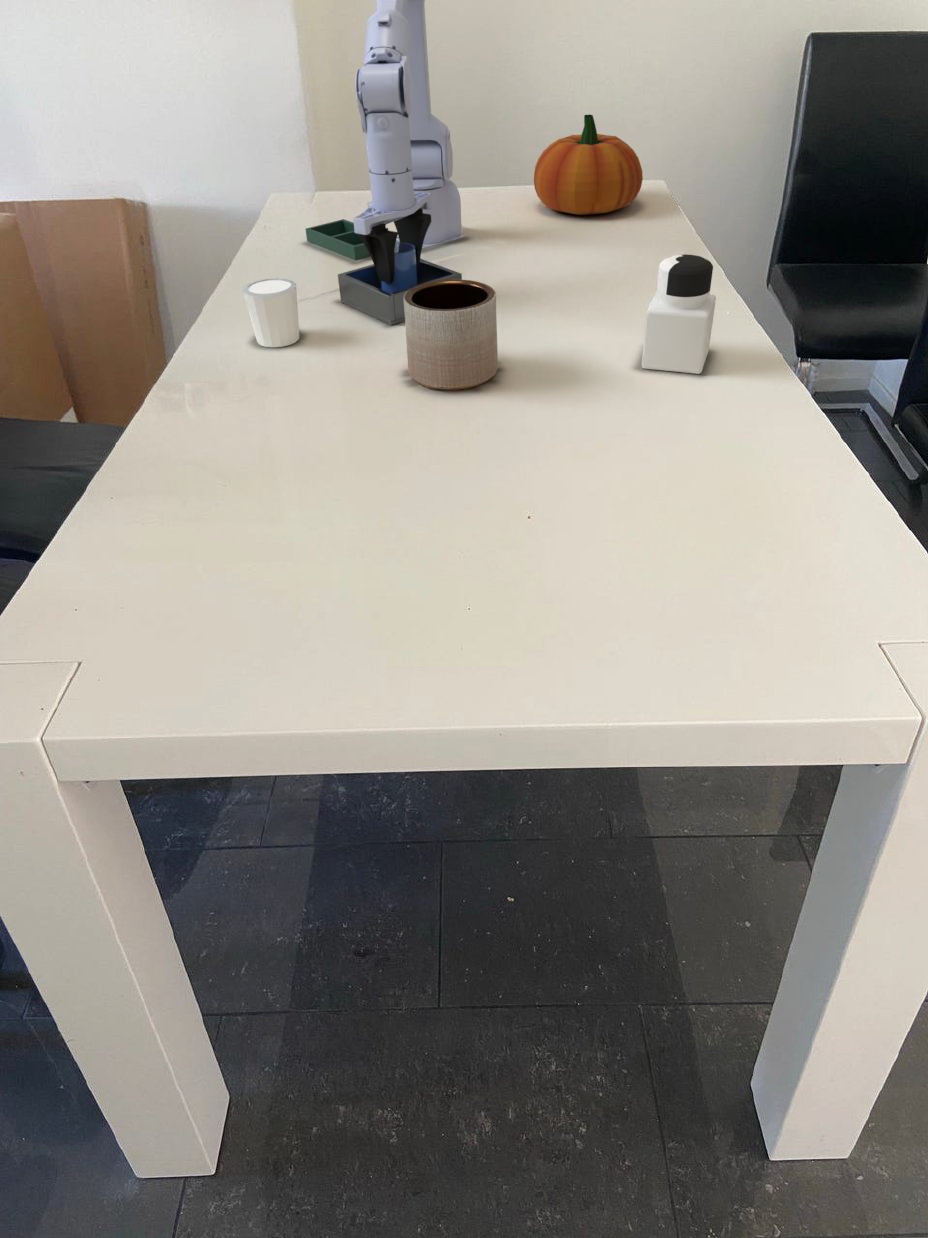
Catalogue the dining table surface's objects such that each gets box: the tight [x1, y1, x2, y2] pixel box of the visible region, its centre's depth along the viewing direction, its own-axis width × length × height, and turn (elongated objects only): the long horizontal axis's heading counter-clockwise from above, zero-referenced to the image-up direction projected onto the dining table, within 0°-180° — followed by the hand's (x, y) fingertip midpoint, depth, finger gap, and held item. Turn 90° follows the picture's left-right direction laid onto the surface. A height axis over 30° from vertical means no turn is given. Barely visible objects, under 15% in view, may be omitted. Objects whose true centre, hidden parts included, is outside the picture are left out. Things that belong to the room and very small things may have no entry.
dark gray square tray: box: [337, 258, 463, 326], centre depth 128 cm, size 13×13×4 cm
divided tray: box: [305, 218, 371, 261], centre depth 149 cm, size 8×15×2 cm, turn 39°
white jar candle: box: [242, 277, 300, 348], centre depth 118 cm, size 7×7×7 cm
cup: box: [381, 242, 418, 293], centre depth 126 cm, size 5×5×7 cm
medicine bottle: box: [641, 254, 717, 375], centre depth 106 cm, size 7×7×12 cm
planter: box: [403, 279, 499, 391], centre depth 106 cm, size 11×11×10 cm
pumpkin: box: [533, 114, 644, 216], centre depth 159 cm, size 19×19×15 cm
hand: (399, 274), depth 127 cm, fingers closed on cup, 5 cm apart
